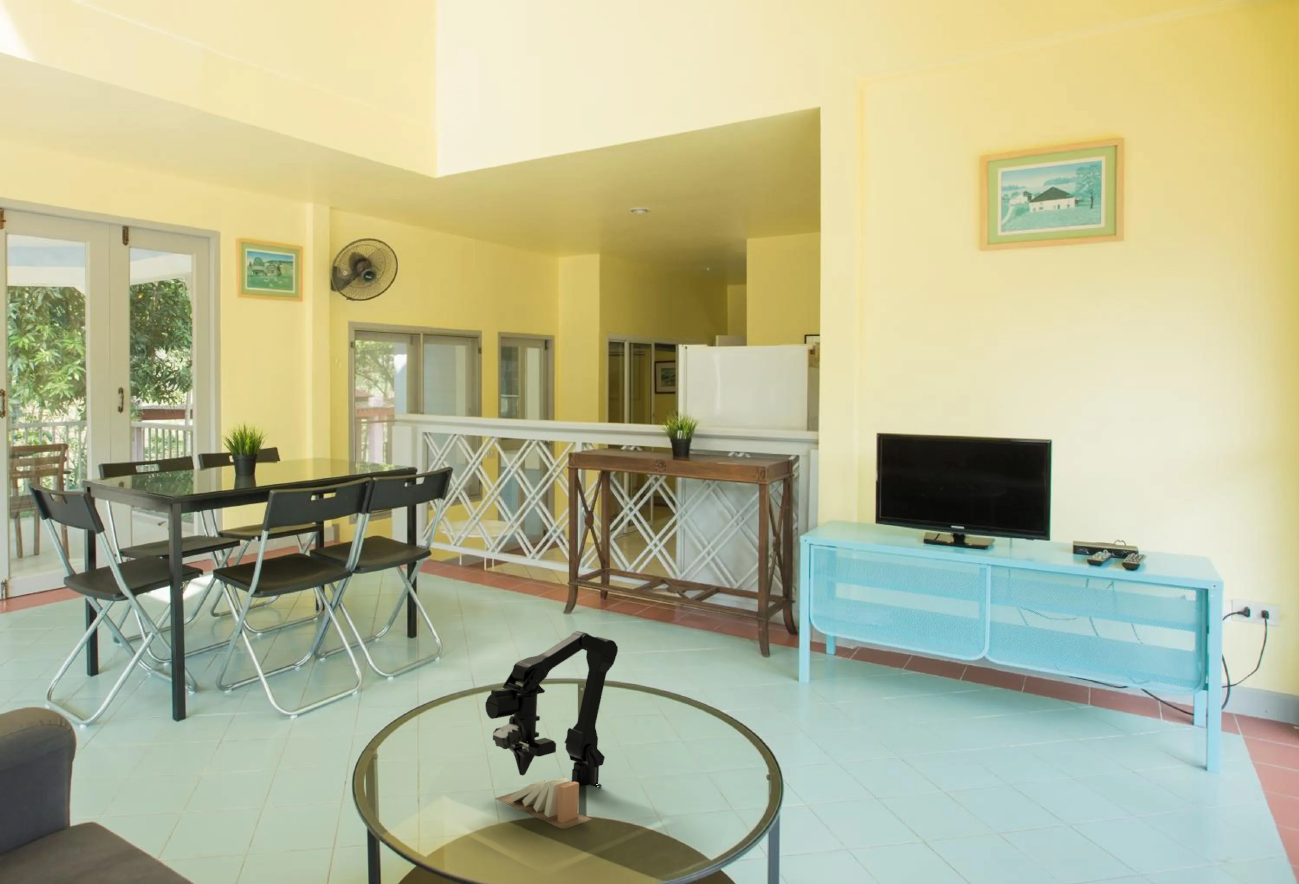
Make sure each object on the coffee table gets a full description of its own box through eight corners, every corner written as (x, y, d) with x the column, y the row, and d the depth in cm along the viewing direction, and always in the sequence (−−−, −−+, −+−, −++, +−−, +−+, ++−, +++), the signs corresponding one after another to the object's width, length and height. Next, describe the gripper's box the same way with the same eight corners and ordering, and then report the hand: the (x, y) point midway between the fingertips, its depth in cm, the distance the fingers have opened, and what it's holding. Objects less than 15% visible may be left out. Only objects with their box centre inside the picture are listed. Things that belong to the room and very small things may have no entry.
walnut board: (494, 802, 204) (494, 798, 205) (522, 793, 211) (522, 789, 211) (563, 833, 187) (563, 829, 187) (591, 823, 194) (591, 818, 194)
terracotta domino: (557, 820, 192) (559, 786, 193) (573, 814, 196) (574, 781, 196) (562, 822, 191) (563, 787, 192) (577, 816, 195) (579, 782, 195)
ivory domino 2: (522, 800, 201) (538, 784, 197) (537, 795, 204) (554, 779, 201) (524, 806, 200) (541, 790, 196) (540, 801, 203) (556, 785, 200)
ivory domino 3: (533, 806, 198) (545, 782, 195) (548, 801, 201) (560, 777, 199) (536, 812, 197) (548, 787, 194) (552, 806, 200) (564, 782, 198)
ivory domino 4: (544, 814, 195) (550, 782, 194) (559, 808, 199) (565, 777, 198) (548, 817, 194) (554, 785, 193) (564, 811, 198) (569, 780, 197)
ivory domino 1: (511, 795, 203) (529, 784, 199) (526, 790, 207) (544, 780, 203) (513, 801, 203) (531, 791, 199) (528, 796, 206) (546, 786, 202)
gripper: (477, 710, 206) (474, 772, 205) (523, 726, 194) (520, 792, 193) (511, 702, 215) (509, 763, 213) (558, 717, 202) (555, 781, 201)
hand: (522, 774), depth 205 cm, fingers closed
